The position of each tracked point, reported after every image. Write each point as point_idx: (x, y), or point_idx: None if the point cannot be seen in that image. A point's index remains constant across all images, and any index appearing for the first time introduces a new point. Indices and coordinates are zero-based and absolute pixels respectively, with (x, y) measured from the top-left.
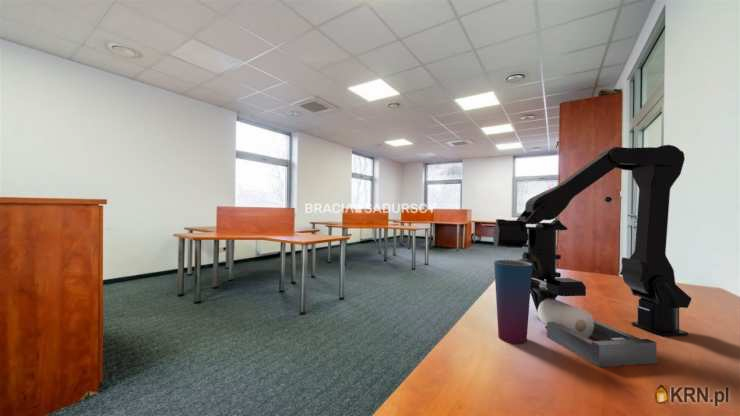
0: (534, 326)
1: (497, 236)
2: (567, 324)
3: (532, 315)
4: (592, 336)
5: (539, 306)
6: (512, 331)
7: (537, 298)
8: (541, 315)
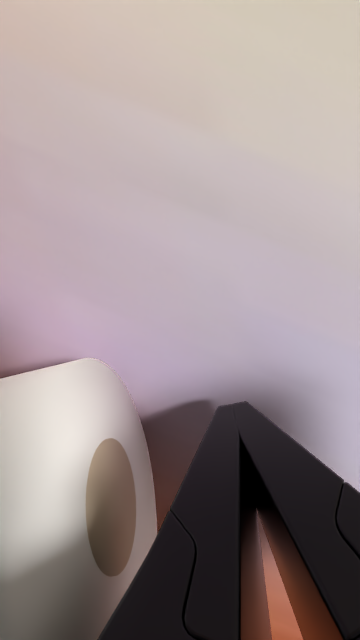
0: (82, 290)
1: None
2: None
3: (344, 380)
4: None
5: (14, 442)
6: None
7: (231, 564)
8: (12, 380)
